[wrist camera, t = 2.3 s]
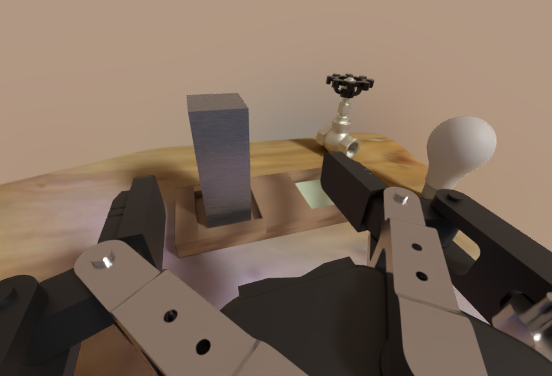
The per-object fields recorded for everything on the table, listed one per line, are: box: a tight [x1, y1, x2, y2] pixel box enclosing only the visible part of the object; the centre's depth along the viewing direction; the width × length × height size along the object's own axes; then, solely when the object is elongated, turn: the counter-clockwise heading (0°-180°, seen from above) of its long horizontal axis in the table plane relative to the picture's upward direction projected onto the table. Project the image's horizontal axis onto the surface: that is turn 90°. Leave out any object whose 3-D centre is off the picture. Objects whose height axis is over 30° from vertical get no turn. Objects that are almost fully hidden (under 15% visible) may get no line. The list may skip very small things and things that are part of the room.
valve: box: [316, 74, 374, 159], centre depth 38 cm, size 7×7×12 cm
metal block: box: [187, 93, 251, 228], centre depth 23 cm, size 4×4×12 cm
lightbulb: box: [422, 116, 497, 199], centre depth 28 cm, size 6×6×11 cm
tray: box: [175, 168, 348, 258], centre depth 29 cm, size 22×9×2 cm, turn 108°
